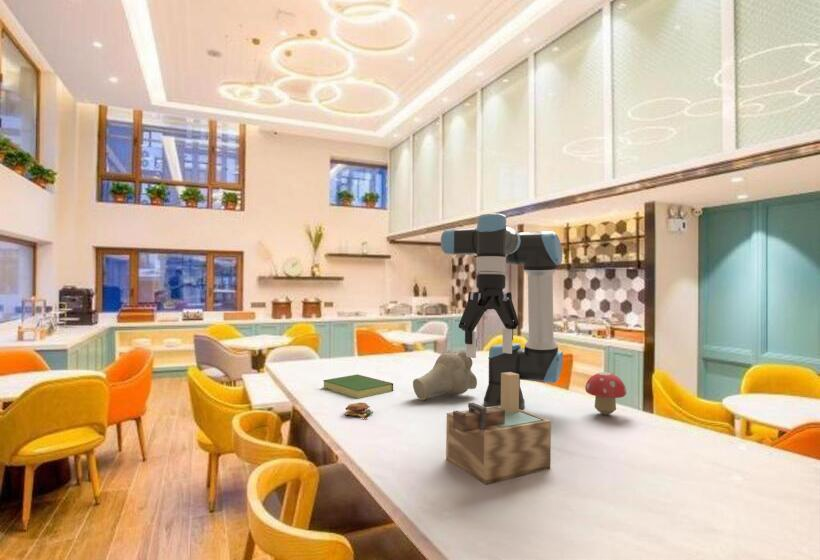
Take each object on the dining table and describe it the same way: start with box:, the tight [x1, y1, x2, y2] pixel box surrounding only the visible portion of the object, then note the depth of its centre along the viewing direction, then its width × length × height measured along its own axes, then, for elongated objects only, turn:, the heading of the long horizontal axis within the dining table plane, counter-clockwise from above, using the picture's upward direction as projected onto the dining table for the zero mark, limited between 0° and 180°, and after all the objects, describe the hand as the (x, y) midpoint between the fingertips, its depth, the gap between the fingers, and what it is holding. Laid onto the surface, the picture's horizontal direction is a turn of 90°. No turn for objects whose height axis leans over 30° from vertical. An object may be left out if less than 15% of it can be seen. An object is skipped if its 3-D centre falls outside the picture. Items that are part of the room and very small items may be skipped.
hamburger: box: [345, 402, 374, 421], centre depth 160 cm, size 14×14×6 cm
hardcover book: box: [322, 374, 394, 399], centre depth 198 cm, size 25×19×4 cm
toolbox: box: [445, 402, 552, 485], centre depth 118 cm, size 24×17×17 cm
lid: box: [491, 372, 542, 428], centre depth 120 cm, size 13×14×12 cm
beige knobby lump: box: [412, 349, 478, 401], centre depth 186 cm, size 22×22×28 cm
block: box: [452, 408, 505, 431], centre depth 111 cm, size 13×3×4 cm, turn 118°
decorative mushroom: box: [584, 371, 627, 415], centre depth 164 cm, size 13×13×15 cm
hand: (489, 355), depth 121 cm, fingers open, 13 cm apart
